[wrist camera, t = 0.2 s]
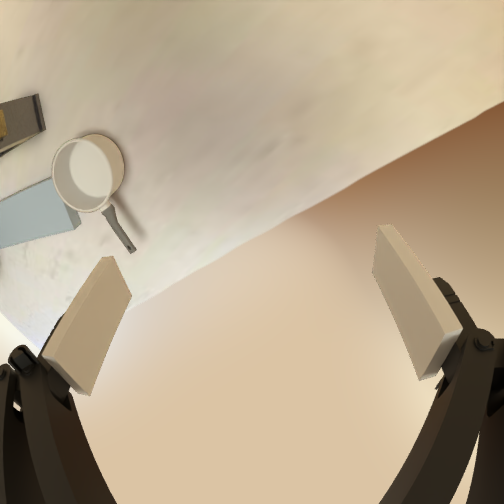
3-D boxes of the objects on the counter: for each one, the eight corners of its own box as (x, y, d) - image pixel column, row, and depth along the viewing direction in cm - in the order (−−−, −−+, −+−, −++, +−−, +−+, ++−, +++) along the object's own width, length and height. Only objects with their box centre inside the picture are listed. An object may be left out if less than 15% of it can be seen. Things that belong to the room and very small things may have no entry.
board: (-11, 206, 41) (-18, 211, 38) (62, 172, 38) (54, 177, 36) (5, 243, 46) (-1, 249, 44) (81, 222, 43) (74, 229, 41)
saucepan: (121, 247, 46) (109, 265, 42) (60, 156, 37) (40, 167, 32) (171, 220, 43) (161, 238, 39) (105, 116, 34) (85, 122, 29)
